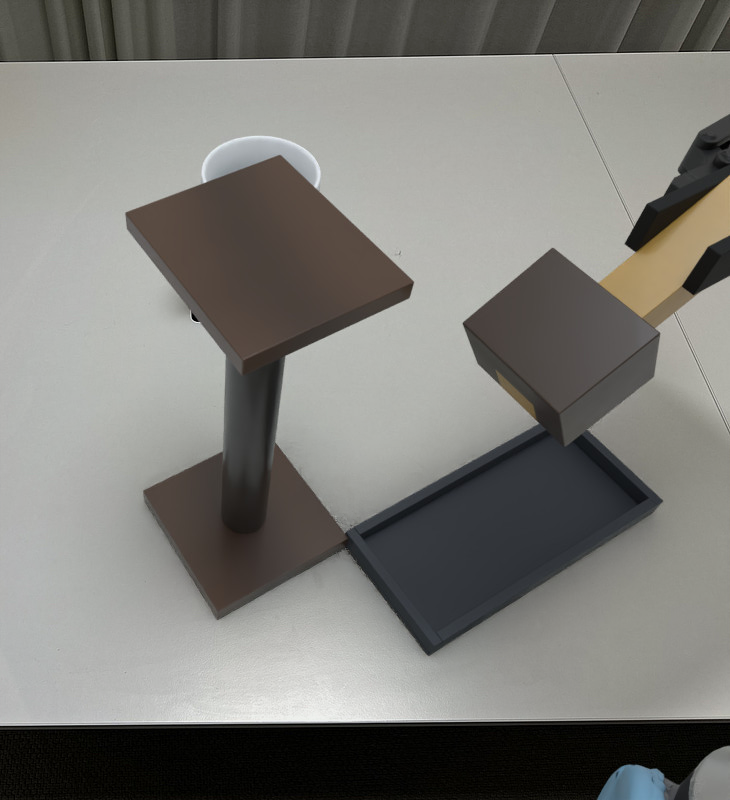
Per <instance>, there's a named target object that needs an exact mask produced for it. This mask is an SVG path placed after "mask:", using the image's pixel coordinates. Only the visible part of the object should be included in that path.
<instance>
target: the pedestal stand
mask: <svg viewBox="0 0 730 800" xmlns="http://www.w3.org/2000/svg"><path fill="white" fill-rule="evenodd" d="M124 215H125V216H124V217H125V225H126V230H127V232H128V233H129V234H130V235H131V237H132V238H133V239H134V241H135V242H136V243H137V245H139V247H140V248H141V249H142V251H143V252H144V253H145V255H146V256H147V257H148V258H149V259H150V261H151V262H152V263H153V264H154V266H155V267H156V268H157V270H158V271H159V272H160V273H161V275H162V276H163V277H164V278H165V280H166V281H167V282H168V284H169V285H170V286H171V288H172V289H173V290H174V291H175V292H176V294H177V295H178V296H179V298H180V299H181V300H182V302H183V303H184V304H185V305H186V306H187V308H188V309H189V310H190V312H191V313H192V314H193V315H194V317H195V318H196V319H197V321H198V322H199V323H200V324H201V326H202V327H203V328H204V329H205V331H206V332H207V334H208V335H209V336H210V337H211V338H212V340H213V341H214V342H215V344H216V345H217V346H218V347H219V348H220V350H221V351H222V353H223V354H224V355H225V364H224V365H225V366H224V368H225V369H224V403H223V408H224V409H223V433H222V434H223V436H222V451H220V452H218V453H216V454H214V455H213V456H210V457H208V458H206V459H204V460H201V461H200V462H198V463H196V464H194V465H192V466H190V467H188V468H186V469H184V470H182V471H179V472H178V473H176V474H174V475H172V476H170V477H167V478H165V479H163V480H162V481H160V482H157V483H155V484H153V485H151V486H149V487H147V488H145V489H143V490H142V494H143V500H144V502H145V504H146V505H147V507H148V508H149V511H150V512H151V514H152V516H153V518H155V520H156V521H157V524H158V525H159V527H160V529H161V530H162V532H163V533H164V535H165V537H166V538H167V540H168V542H169V543H170V545H171V547H172V548H173V549H174V552H175V553H176V555H177V556H178V558H179V560H180V561H181V563H182V564H183V566H184V568H185V569H186V571H187V573H188V574H189V576H190V578H191V579H192V581H193V582H194V584H195V586H196V588H197V589H198V590H199V592H200V594H201V596H202V597H203V599H204V600H205V602H206V604H207V605H208V607H209V608H210V610H211V612H212V613H213V615H214V617H215V618H216V620H220V619H222V618H224V617H225V616H227V615H229V614H230V613H232V612H234V611H236V610H237V609H239V608H241V607H243V606H244V605H247V604H248V603H251V602H252V601H254V600H255V599H257V598H259V597H261V596H263V595H264V594H266V593H269V591H271V590H274V589H275V588H277V587H278V586H280V585H282V584H284V583H286V582H287V581H289V580H291V579H292V578H294V577H296V576H298V575H300V574H302V573H303V572H305V571H307V570H308V569H310V568H312V567H314V566H316V565H317V564H319V563H321V562H322V561H324V560H327V559H328V558H330V557H331V556H333V555H335V554H337V553H339V552H340V551H343V550H344V549H347V548H346V545H347V542H348V537H347V536H346V535H345V533H346V532H345V531H344V530H343V528H342V527H341V526H340V524H339V523H338V522H337V521H336V519H335V518H334V517H333V515H332V514H331V513H330V512H329V510H328V509H327V508H326V506H325V505H324V503H322V501H321V499H320V498H319V497H318V496H317V494H316V493H315V492H314V491H313V489H312V488H311V487H310V486H309V484H308V482H306V480H305V479H304V478H303V476H302V475H301V474H300V472H299V471H298V470H297V469H296V467H295V466H294V465H293V463H292V462H291V461H290V459H289V458H288V457H287V456H286V454H285V453H284V452H283V451H282V449H281V447H279V445H278V443H277V442H276V439H277V431H278V421H279V414H280V406H281V405H280V404H281V399H282V398H281V397H282V391H283V390H282V389H283V383H284V382H283V381H284V373H285V365H286V356H289V355H291V354H293V353H295V352H297V351H299V350H302V349H304V348H306V347H308V346H311V345H313V344H314V343H317V342H320V341H321V340H323V339H325V338H327V337H329V336H332V335H334V334H336V333H338V332H340V331H342V330H345V329H347V328H349V327H351V326H353V325H355V324H357V323H360V322H362V321H364V320H366V319H368V318H371V317H373V316H375V315H376V314H379V313H381V312H383V311H385V310H387V309H390V308H392V307H394V306H397V305H398V304H401V303H402V302H405V301H407V300H409V299H410V298H411V295H412V291H413V289H414V285H415V281H414V279H412V278H411V276H409V275H408V274H407V273H406V272H405V271H404V270H403V269H402V268H400V267H399V265H397V263H395V262H394V261H393V260H392V259H391V258H390V257H389V256H388V255H387V254H386V253H385V252H384V251H383V250H382V249H380V247H378V245H376V244H375V243H374V242H373V241H372V240H371V239H370V238H369V237H368V236H367V235H366V234H365V233H364V232H363V231H361V229H359V228H358V227H357V226H356V224H354V223H353V222H352V221H351V220H350V219H349V218H348V217H347V216H346V215H345V214H343V212H342V211H341V210H340V209H339V208H337V206H336V205H334V204H333V202H331V201H330V200H329V199H328V198H326V196H324V195H323V193H322V192H321V191H318V190H317V189H316V188H315V187H314V186H313V185H312V184H311V183H310V182H309V181H308V180H307V179H306V178H305V177H303V176H302V175H301V174H300V173H299V172H298V171H297V170H296V169H295V168H294V167H293V166H292V165H291V164H290V163H289V162H288V161H287V160H286V159H285V158H283V157H282V156H281V155H278V156H275V157H272V158H270V159H267V160H264V161H262V162H259V163H256V164H254V165H251V166H248V167H245V168H243V169H240V170H237V171H235V172H232V173H229V174H227V175H224V176H221V177H219V178H216V179H213V180H211V181H208V182H205V183H203V184H201V183H200V184H198V185H196V186H192V187H190V188H186V189H184V190H181V191H178V192H175V193H174V194H171V195H168V196H165V197H162V198H160V199H158V200H154V201H152V202H150V203H146V204H144V205H141V206H139V207H136V208H134V209H131V210H128V211H125V212H124Z"/></svg>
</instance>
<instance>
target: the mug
mask: <svg viewBox="0 0 730 800" xmlns="http://www.w3.org/2000/svg"><path fill="white" fill-rule="evenodd" d="M278 155H281V156H282V157H283V158H285V159H286V160H287V161H288V162H289V163H290V164H291V165H292V166H293V167H294V168H295V169H296V170H297V171H298V172H299V173H300V174H301V175H302V176H303V177H305V178H306V179H307V180H308V181H309V182H310V183H311V184H312V185H313V186H314V187H315V188H316V189H317V190H318V191H319V192H321V191H320V190H321V181H322V171H321V167H320V165H319V163H318V161H317V159H316V158H315V156H314V155H313V154H312V153H311V152H310V151H308V150H307V149H306V148H304V147H303V146H301V145H300V144H298V143H295V142H294V141H291V140H289V139H285V138H283V137H282V138H281V137H277V136H271V135H247V136H242V137H237V138H233V139H230V140H228V141H225V142H223V143H221V144H220V145H218V146H216V147H215V148H214V149H212V150H211V151H210V152H209V153H208V154H207V155H206V157H205V158H204V160H203V163H202V166H201V171H200V184H203V183H205V182H208V181H211V180H213V179H216V178H219V177H221V176H224V175H227V174H229V173H232V172H235V171H237V170H240V169H243V168H245V167H248V166H251V165H254V164H256V163H259V162H262V161H264V160H267V159H270V158H272V157H275V156H278Z"/></svg>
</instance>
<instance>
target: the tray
mask: <svg viewBox="0 0 730 800" xmlns="http://www.w3.org/2000/svg"><path fill="white" fill-rule="evenodd" d="M663 503H664V500H663V499H662V498H661V497H660V496H659V495H658V494H657V493H656V492H655V491H653V489H652V488H650V487H649V486H648V485H647V484H646V483H645V482H644V481H643V480H642V479H641V478H639V476H638V475H637V474H636V473H634V472H633V470H631V468H629V467H628V466H627V465H626V464H625V463H624V462H623V461H622V460H621V459H619V458H618V457H617V455H616V454H614V453H613V452H612V450H610V449H609V448H608V447H606V445H604V443H602V442H601V441H600V440H599V439H598V438H597V437H596V436H595V435H594V434H593V433H592V432H591V431H589V430H588V429H587V430H586V431H585V432H584V433H582V434H581V435H580V436H579V437H577V438H576V439H575V440H573V441H572V442H571V443H570V444H568V445H567V446H566V447H564V446H562V445H561V444H560V443H559V442H558V441H557V440H556V439H555V438H554V437H553V436H552V435H551V434H550V433H549V432H548V431H547V430H546V429H545V428H544V427H543V426H542V425H541V424H539V423H537V424H536V425H534V426H532V427H530V428H529V429H527V430H525V431H523V432H522V433H520V434H518V435H516V436H514V437H513V438H511V439H509V440H507V441H506V442H503V443H502V444H500V445H499V446H496V447H495V448H493V449H491V450H489V451H488V452H485V453H484V454H482V455H480V456H478V457H476V458H474V459H473V460H471V461H470V462H468V463H466V464H464V465H463V466H461V467H459V468H457V469H455V470H453V471H451V472H450V473H448V474H446V475H444V476H442V477H440V478H439V479H437V480H436V481H435V480H434V481H433V482H431V483H430V484H428V485H426V486H425V487H423V488H421V489H419V490H417V491H416V492H414V493H412V494H410V495H408V496H407V497H404V498H403V499H401V500H399V501H398V502H396V503H394V504H392V505H390V506H389V507H387V508H385V509H384V510H382V511H379V512H377V513H376V514H374V515H372V516H371V517H369V518H367V519H365V520H364V521H362V522H360V523H358V524H356V525H355V526H353V527H351V528H349V529H348V530H346V531H345V532H344V533H345V535H346V536H347V537H348V542H347V545H346V548H345V549H346V550H347V551H348V552H349V554H350V555H351V556H352V557H353V559H354V560H355V561H356V563H357V564H358V565H359V567H360V568H361V570H362V571H363V572H364V573H365V575H366V576H367V577H368V579H369V580H370V581H371V583H372V584H373V585H374V586H375V588H376V589H377V590H378V592H379V593H380V595H381V596H382V597H383V598H384V600H385V602H386V603H387V604H388V605H389V606H390V608H391V609H392V610H393V612H394V613H395V614H396V616H397V617H398V619H399V620H400V621H401V622H402V624H403V625H404V626H405V628H406V629H407V630H408V632H409V633H410V634H411V636H412V637H413V638H414V639H415V641H416V642H417V644H419V646H420V648H421V649H422V650H423V651H424V653H425V654H426V655H427V656H428V657H429V656H431V655H432V654H434V653H435V652H437V651H439V650H441V649H442V648H443V647H445V646H447V645H448V644H450V643H451V642H453V641H454V640H456V639H458V638H459V637H461V636H463V635H464V634H465V633H467V632H469V631H470V630H472V629H473V628H475V627H476V626H479V624H481V623H483V622H484V621H486V620H488V619H489V618H490V617H492V616H494V615H495V614H497V613H498V612H500V611H502V610H503V609H505V608H506V607H508V606H510V605H511V604H512V603H514V602H516V601H517V600H519V599H520V598H522V597H523V596H525V595H527V594H528V593H530V592H531V591H533V590H534V589H536V588H538V587H539V586H540V585H542V584H544V583H546V582H547V581H549V580H550V579H552V578H553V577H555V576H556V575H558V574H559V573H561V572H563V571H564V570H566V569H568V568H569V567H571V566H572V565H574V564H575V563H577V562H578V561H581V560H582V559H583V558H584V557H586V556H588V555H589V554H591V553H592V552H594V551H596V550H597V549H599V548H600V547H602V546H604V545H605V544H606V543H608V542H610V541H611V540H613V539H614V538H616V537H618V536H619V535H621V534H623V533H624V532H625V531H627V530H628V529H630V528H631V527H633V526H635V525H636V524H637V523H639V522H641V521H643V520H644V519H646V518H647V517H649V516H651V515H652V514H653V513H654V512H655V511H656V510H657V509H658V508H659V507H660V506H661V504H663Z"/></svg>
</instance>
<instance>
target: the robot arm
mask: <svg viewBox="0 0 730 800" xmlns="http://www.w3.org/2000/svg"><path fill="white" fill-rule="evenodd" d="M677 172H678V174H679V175H677V176H674V177H673V178H672V180H671V182H670V184H669V185H668V186H667V188H666V190H665V192H664V194H663V195H662V196H660V197H658V198H656V199H653V200H651V201H650V202H647V203H646V204H645V206H644V207H643V210H642V211H641V212H640V215H639V217H638V218H637V220H636V222H635V224H634V225H633V228H632V230H631V232H630V233H629V235H628V236H627V238H626V240H625V242H624V246H626V247H627V248H629V249H630V250H632V252H634V253H636V252H637V251H638V250H639V249H641V248H642V247H643V246H644V245H645V244H647V243H648V242H649V241H650V240H652V239H653V238H654V237H655V236H656V235H658V234H659V233H660V232H661V231H662V230H664V229H665V228H666V227H667V226H669V225H670V224H671V223H672V222H673V221H675V220H676V219H677V218H678V217H680V216H681V215H682V214H683V213H684V212H686V211H687V210H688V209H689V208H691V207H692V206H693V205H694V204H695V203H697V202H698V201H699V200H700V199H701V198H703V197H704V196H705V195H706V194H708V193H709V192H710V191H711V190H712V189H714V188H715V187H716V186H717V185H719V184H720V183H721V182H722V181H723V180H725V179H726V178H727V177H728V176H729V175H730V113H729V114H727V115H725V116H724V117H722V118H720V119H718V120H717V121H715V122H713V123H711V124H709V125H708V126H705V127H704V128H702V129H701V130H699V131H698V132H697V134H696V136H695V138H694V139H693V141H692V142H691V145H690V146H689V148H688V150H687V152H686V153H685V155H684V156H683V158H682V160H681V162H680V163H679V166H678V167H677ZM729 277H730V236H728V237H726V238H724V239H722V240H720V241H718V242H716V243H714V244H712V245H710V246H708V247H707V249H706V250H705V252H704V253H703V255H702V256H701V258H700V259H699V261H698V262H697V264H696V265H695V267H694V268H693V270H692V271H691V273H690V274H689V276H688V277H687V279H686V280H685V282H684V283H683V285H682V286H681V287H683V288H684V289H686V290H687V291H688V292H690V293H691V294H692V295H695V294H697V293H699V292H700V293H702V292H703V291H704V290H707V289H708V288H710V287H712V286H715V285H716V284H717V283H719V282H721V281H723V280H725V279H728V278H729ZM700 293H699V294H700ZM697 295H698V294H697ZM596 800H730V745H725V746H722V747H720V748H718V749H715V750H713V751H712V752H710V753H709V754H707V755H706V756H705V757H704V758H703V759H702V760H701V761H700V762H699V763H698V764H697V766H696V767H694V769H693V770H692V771H691V772H690V773H689V774H688V775H687V776H686V778H685V779H684V780H683V781H682V782H680V784H678V783H675V782H673V781H671V780H670V779H668V778H667V777H665V773H663V772H662V771H661V770H659V769H658V768H651V769H650V768H648V767H645V766H642V765H639V764H626V765H623V766H620V767H619V768H617V769H616V770H615V771H614V772H613V773H612V774H611V775H610V777H609V778H608V780H606V783H605V785H603V788H602V789H601V792H600V793H599V795H598V797H597V799H596Z"/></svg>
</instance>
